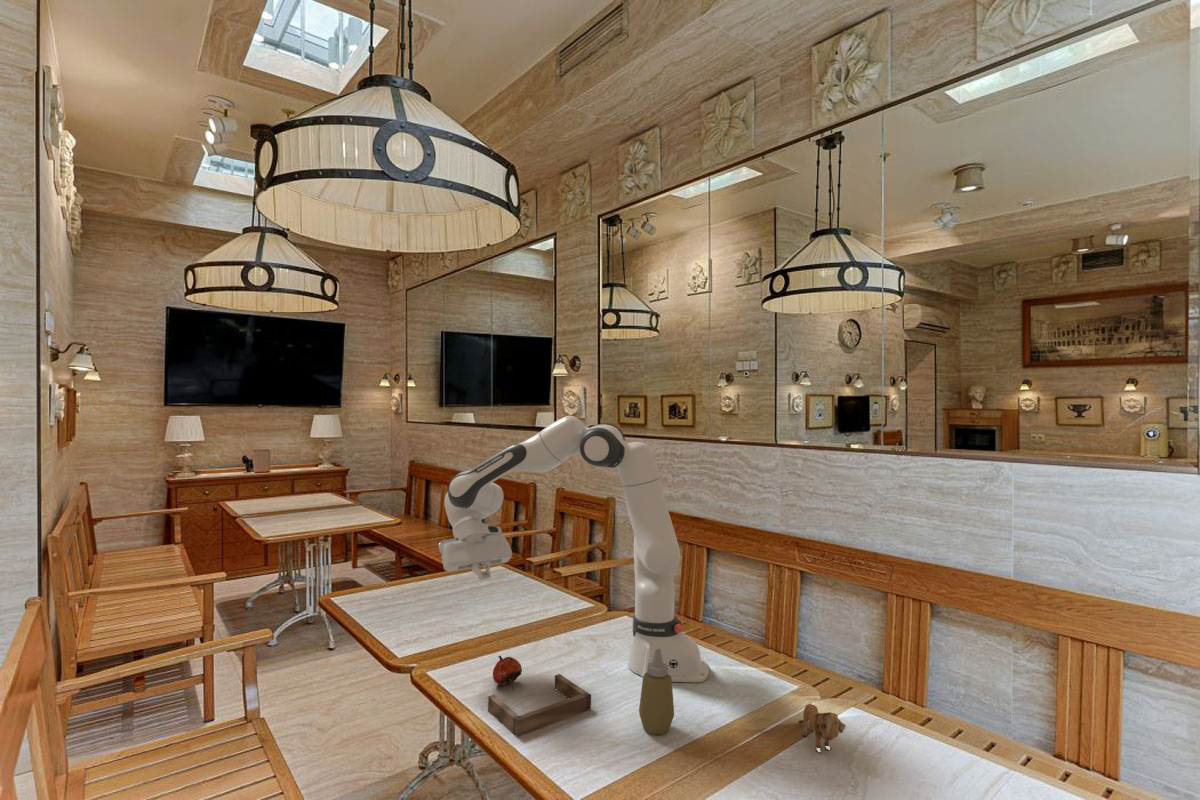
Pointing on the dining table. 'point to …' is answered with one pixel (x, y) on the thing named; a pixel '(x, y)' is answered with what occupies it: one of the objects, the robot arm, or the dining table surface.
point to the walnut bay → (542, 709)
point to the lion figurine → (821, 724)
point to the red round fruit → (506, 671)
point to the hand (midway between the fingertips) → (485, 578)
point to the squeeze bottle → (656, 697)
